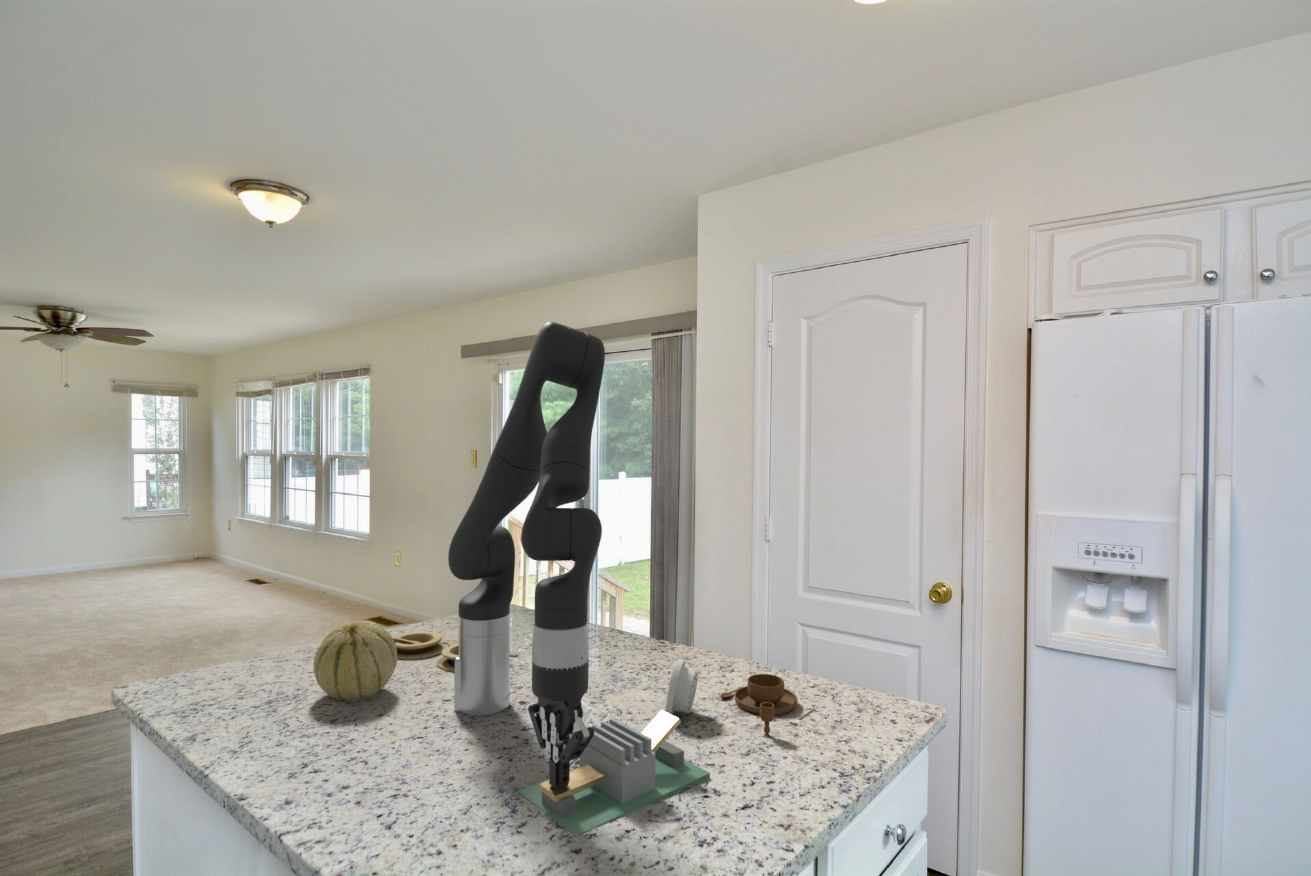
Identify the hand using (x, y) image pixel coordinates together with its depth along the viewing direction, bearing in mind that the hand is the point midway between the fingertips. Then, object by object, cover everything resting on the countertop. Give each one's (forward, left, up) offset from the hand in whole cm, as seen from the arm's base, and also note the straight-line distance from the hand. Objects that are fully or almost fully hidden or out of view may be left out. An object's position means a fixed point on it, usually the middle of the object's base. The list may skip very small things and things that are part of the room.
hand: (558, 785), depth 92 cm
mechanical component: (+15, +34, -5) cm, 38 cm away
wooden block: (+9, +10, 0) cm, 14 cm away
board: (+7, +7, -4) cm, 11 cm away
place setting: (+29, +38, -5) cm, 48 cm away
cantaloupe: (-47, +37, -5) cm, 60 cm away
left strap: (+5, +5, 0) cm, 7 cm away
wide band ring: (-3, +22, -5) cm, 23 cm away
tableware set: (-40, +62, -6) cm, 74 cm away
